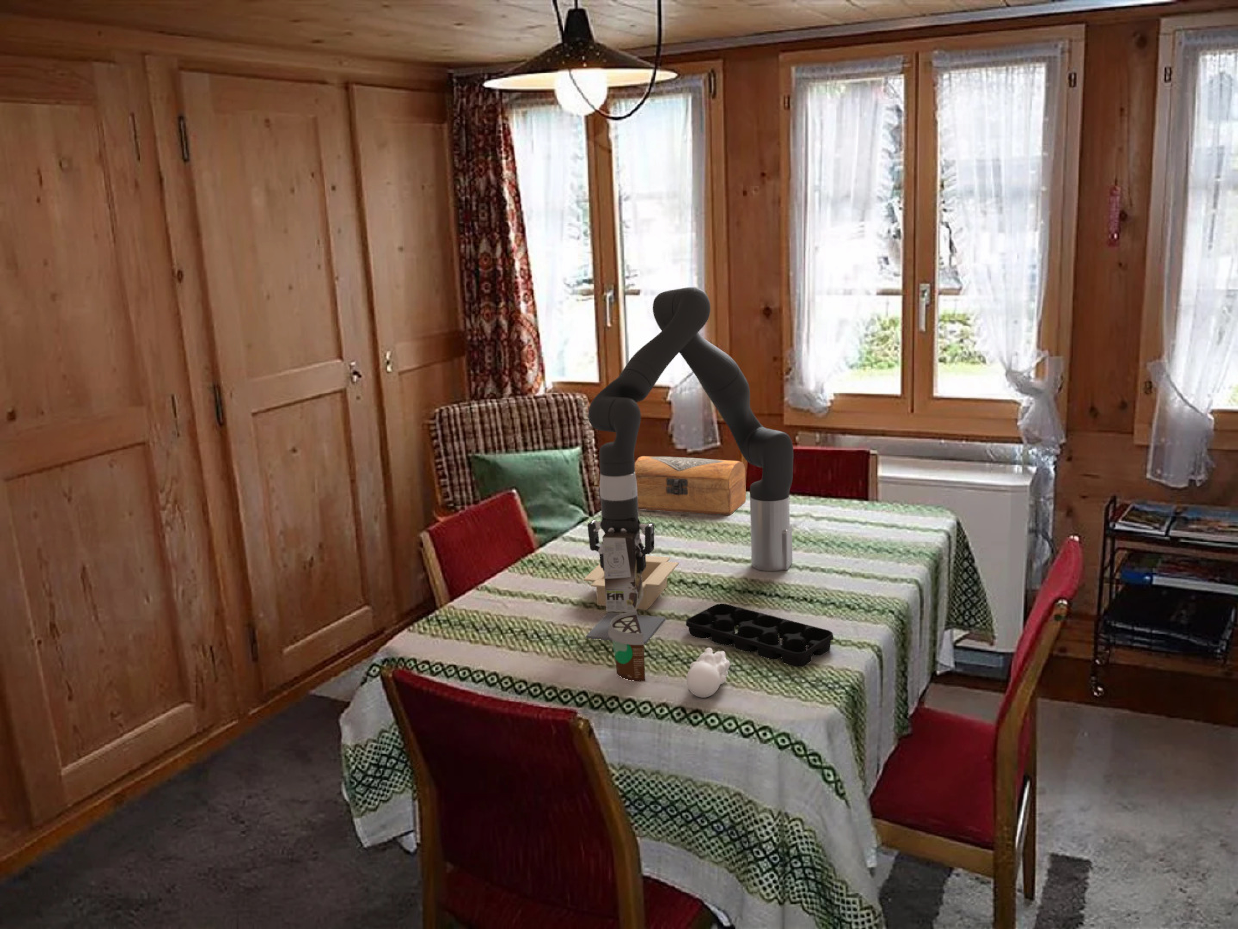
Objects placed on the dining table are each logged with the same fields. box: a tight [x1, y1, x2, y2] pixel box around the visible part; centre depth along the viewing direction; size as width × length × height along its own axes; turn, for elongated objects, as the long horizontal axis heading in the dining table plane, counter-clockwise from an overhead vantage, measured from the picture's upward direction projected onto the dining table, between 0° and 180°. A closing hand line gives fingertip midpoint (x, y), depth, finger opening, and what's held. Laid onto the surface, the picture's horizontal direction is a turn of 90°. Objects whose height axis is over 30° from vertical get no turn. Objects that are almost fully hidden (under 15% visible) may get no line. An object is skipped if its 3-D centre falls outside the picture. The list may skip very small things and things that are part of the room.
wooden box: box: [634, 455, 747, 516], centre depth 310 cm, size 30×16×14 cm, turn 66°
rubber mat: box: [585, 611, 666, 645], centre depth 225 cm, size 13×13×1 cm
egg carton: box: [685, 603, 834, 668], centre depth 215 cm, size 18×30×4 cm, turn 60°
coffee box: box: [601, 529, 643, 613], centre depth 222 cm, size 9×6×16 cm
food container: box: [608, 610, 646, 682], centre depth 204 cm, size 12×6×10 cm, turn 5°
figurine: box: [685, 647, 731, 699], centre depth 196 cm, size 7×7×12 cm
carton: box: [583, 555, 679, 611], centre depth 243 cm, size 18×21×6 cm
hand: (623, 570), depth 222 cm, fingers closed on coffee box, 7 cm apart
